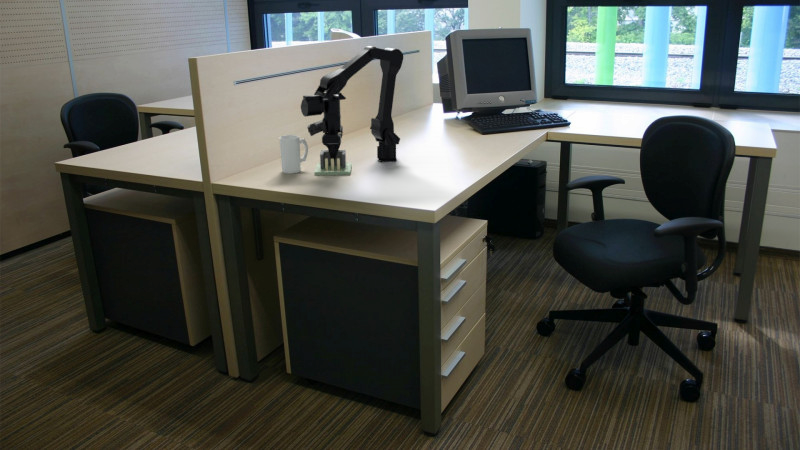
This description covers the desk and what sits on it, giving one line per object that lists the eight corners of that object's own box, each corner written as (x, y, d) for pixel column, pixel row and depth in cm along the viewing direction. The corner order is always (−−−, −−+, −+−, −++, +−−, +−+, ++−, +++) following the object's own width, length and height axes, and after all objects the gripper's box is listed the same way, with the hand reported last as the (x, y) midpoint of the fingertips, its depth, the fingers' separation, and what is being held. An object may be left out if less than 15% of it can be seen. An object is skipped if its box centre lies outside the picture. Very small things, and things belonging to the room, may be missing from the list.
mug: (286, 174, 223) (284, 140, 219) (278, 170, 228) (276, 136, 224) (313, 170, 228) (311, 136, 224) (304, 166, 234) (303, 132, 229)
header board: (351, 165, 235) (351, 151, 233) (350, 174, 223) (349, 160, 222) (317, 165, 234) (316, 152, 232) (314, 175, 223) (314, 160, 221)
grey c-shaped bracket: (321, 164, 232) (321, 150, 231) (346, 163, 233) (345, 150, 231) (320, 168, 227) (320, 154, 225) (345, 168, 227) (345, 154, 225)
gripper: (310, 108, 233) (312, 151, 239) (305, 119, 216) (308, 165, 221) (342, 108, 234) (343, 151, 239) (339, 118, 216) (341, 164, 222)
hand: (333, 158), depth 230 cm, fingers open, 9 cm apart
